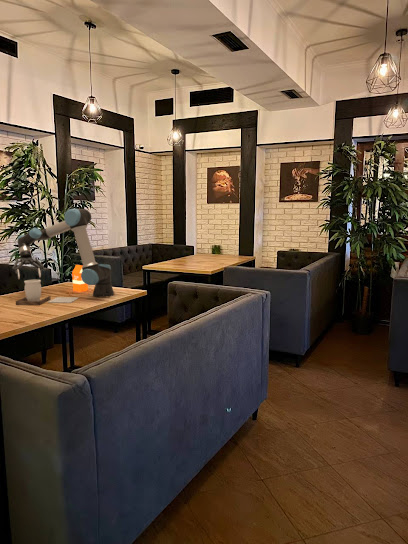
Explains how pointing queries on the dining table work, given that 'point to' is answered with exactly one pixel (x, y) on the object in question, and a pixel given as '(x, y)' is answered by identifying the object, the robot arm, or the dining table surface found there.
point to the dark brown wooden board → (25, 302)
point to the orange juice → (78, 280)
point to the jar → (33, 290)
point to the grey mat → (63, 300)
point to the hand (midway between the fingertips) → (29, 277)
